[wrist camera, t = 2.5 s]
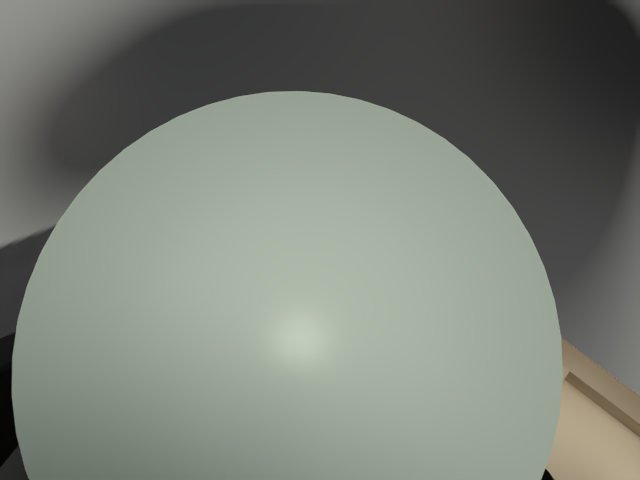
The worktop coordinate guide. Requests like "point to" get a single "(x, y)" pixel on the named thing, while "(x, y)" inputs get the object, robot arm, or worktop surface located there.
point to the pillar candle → (288, 308)
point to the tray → (594, 424)
